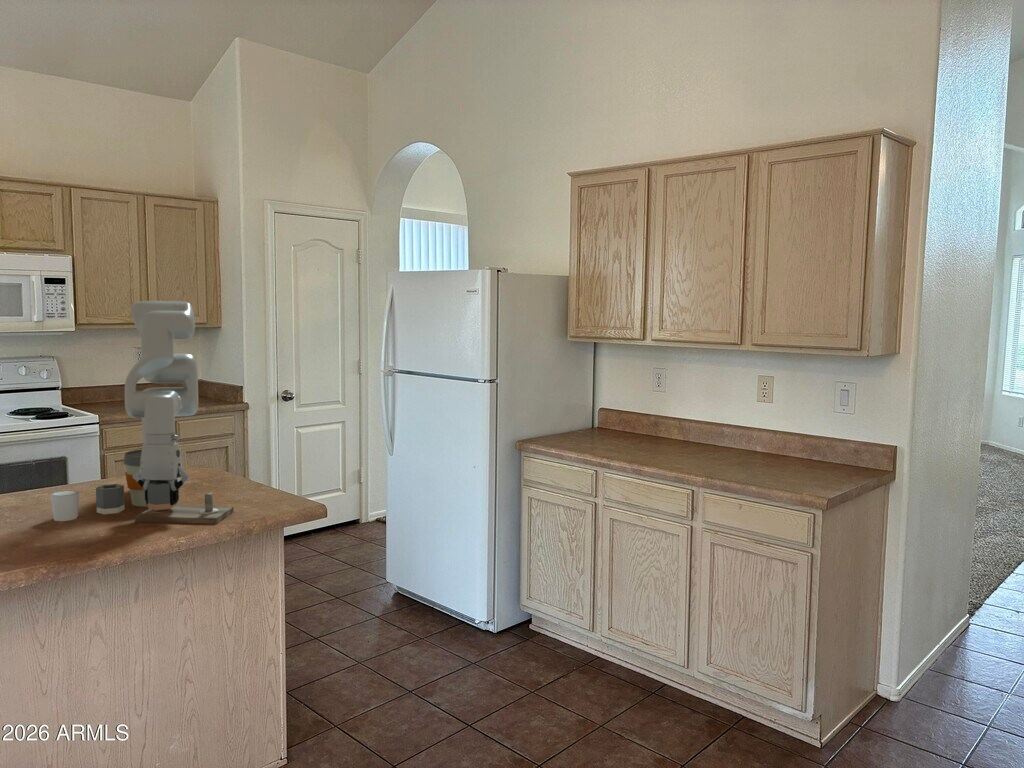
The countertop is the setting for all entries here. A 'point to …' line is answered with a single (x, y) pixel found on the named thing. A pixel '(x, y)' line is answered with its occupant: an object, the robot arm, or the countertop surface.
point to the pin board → (187, 513)
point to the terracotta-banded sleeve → (159, 495)
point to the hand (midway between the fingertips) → (161, 503)
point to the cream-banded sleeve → (110, 498)
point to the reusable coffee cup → (132, 467)
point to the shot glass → (65, 505)
